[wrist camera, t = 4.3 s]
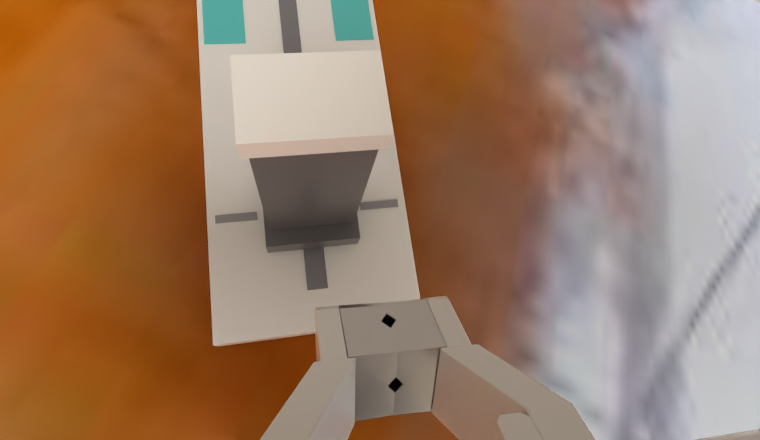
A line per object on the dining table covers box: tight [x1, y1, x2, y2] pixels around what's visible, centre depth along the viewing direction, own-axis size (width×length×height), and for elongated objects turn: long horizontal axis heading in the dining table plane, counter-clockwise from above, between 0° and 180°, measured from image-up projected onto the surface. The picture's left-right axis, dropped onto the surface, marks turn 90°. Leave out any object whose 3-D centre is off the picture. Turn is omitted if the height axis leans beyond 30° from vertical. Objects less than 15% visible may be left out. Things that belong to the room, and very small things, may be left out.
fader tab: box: [230, 50, 394, 253], centre depth 19 cm, size 4×4×11 cm
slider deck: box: [197, 0, 420, 347], centre depth 27 cm, size 24×10×2 cm, turn 8°
